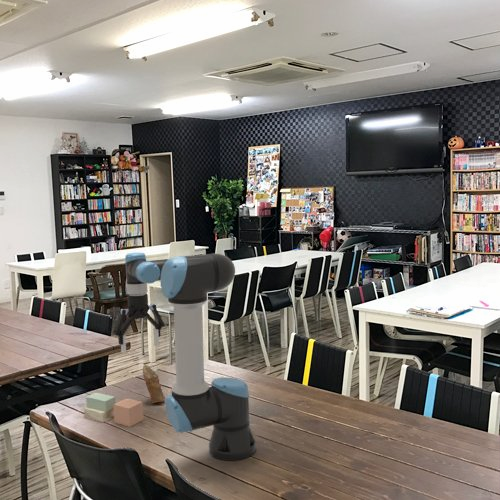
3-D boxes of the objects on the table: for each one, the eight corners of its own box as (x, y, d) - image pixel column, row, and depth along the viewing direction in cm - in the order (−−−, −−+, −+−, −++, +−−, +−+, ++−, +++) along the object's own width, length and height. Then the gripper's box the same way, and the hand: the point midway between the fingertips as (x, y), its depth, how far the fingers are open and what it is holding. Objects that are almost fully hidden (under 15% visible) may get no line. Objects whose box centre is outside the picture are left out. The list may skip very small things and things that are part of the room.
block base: (100, 411, 224) (100, 401, 224) (118, 416, 218) (118, 406, 218) (84, 418, 217) (83, 408, 217) (102, 423, 212) (102, 413, 211)
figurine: (163, 405, 227) (161, 368, 225) (142, 405, 227) (140, 368, 225) (166, 397, 235) (165, 361, 233) (147, 397, 235) (145, 362, 233)
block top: (96, 402, 222) (95, 392, 222) (115, 406, 217) (115, 396, 217) (86, 407, 218) (86, 396, 217) (106, 411, 213) (105, 401, 212)
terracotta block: (128, 415, 217) (127, 398, 217) (143, 420, 213) (142, 402, 212) (114, 422, 212) (113, 404, 211) (129, 427, 207) (128, 408, 206)
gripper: (162, 288, 226) (165, 340, 229) (101, 297, 212) (105, 353, 214) (171, 290, 220) (174, 344, 223) (109, 300, 206) (113, 357, 208)
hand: (140, 349), depth 219 cm, fingers open, 13 cm apart
